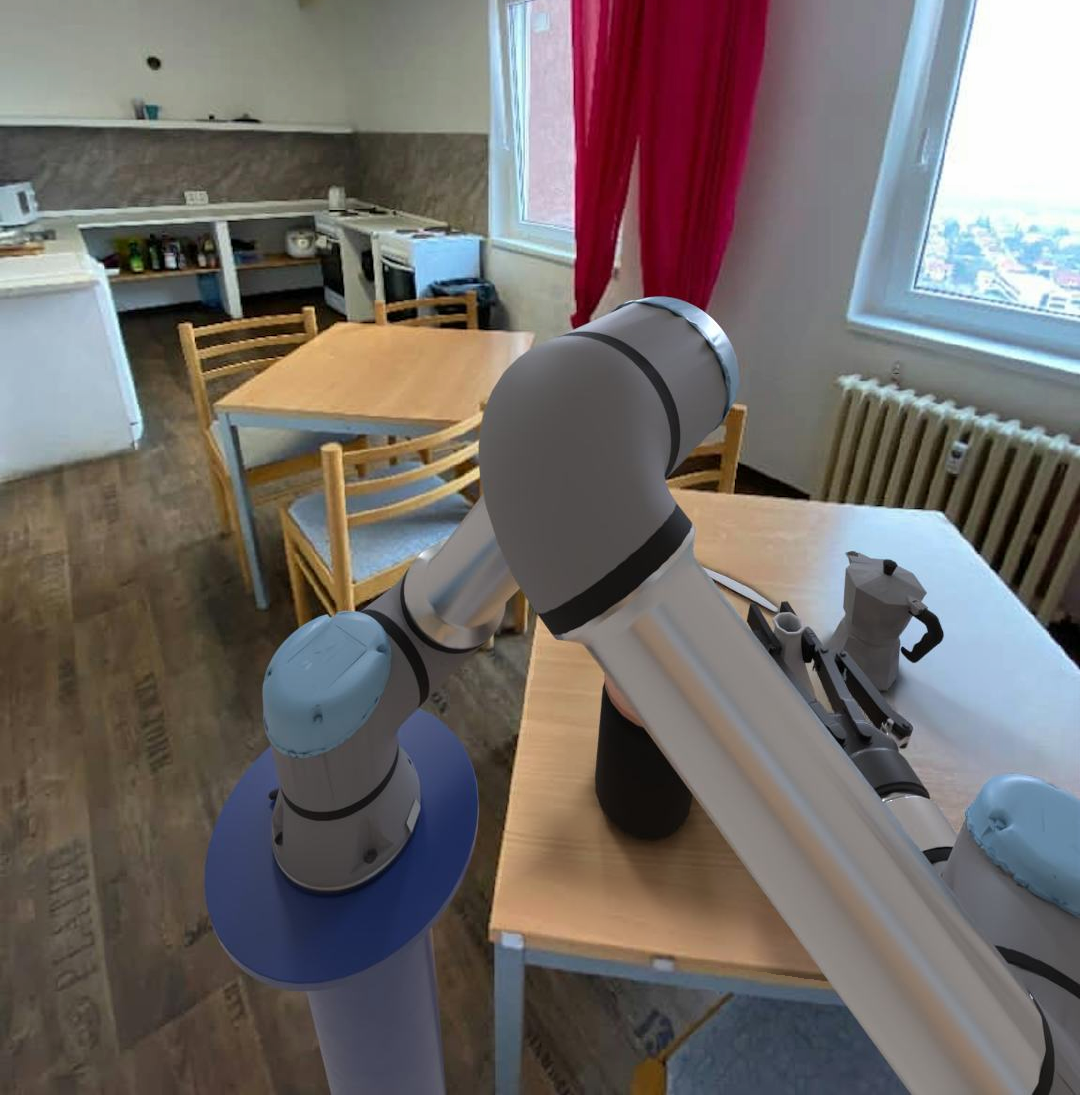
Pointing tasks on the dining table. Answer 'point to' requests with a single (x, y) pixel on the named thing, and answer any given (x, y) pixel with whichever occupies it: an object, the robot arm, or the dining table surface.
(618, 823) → the coffee jar
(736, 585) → the butter knife
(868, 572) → the coffeepot
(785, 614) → the flask
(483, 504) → the robot arm
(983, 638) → the dining table surface
